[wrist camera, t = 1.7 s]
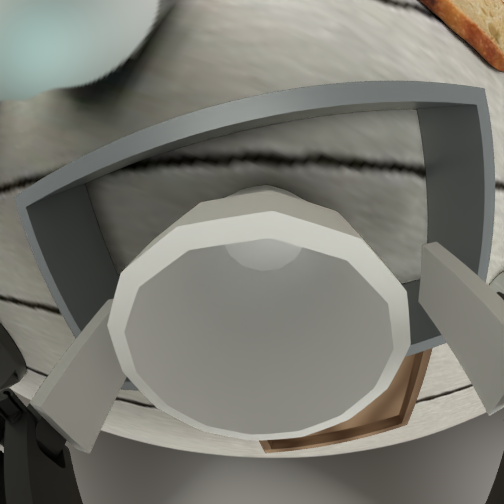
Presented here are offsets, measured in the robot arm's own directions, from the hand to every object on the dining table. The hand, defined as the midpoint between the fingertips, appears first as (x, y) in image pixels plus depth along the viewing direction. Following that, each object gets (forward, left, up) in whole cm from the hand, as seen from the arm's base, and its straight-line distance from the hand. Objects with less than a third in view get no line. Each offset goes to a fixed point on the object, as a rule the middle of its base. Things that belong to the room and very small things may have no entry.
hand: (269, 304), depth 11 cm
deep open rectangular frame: (0, 0, -10) cm, 9 cm away
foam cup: (0, 0, -10) cm, 10 cm away
